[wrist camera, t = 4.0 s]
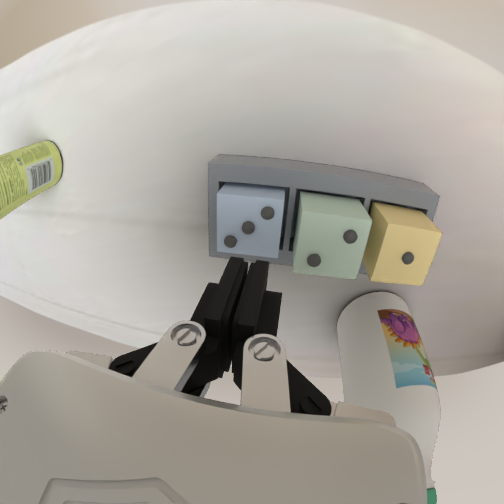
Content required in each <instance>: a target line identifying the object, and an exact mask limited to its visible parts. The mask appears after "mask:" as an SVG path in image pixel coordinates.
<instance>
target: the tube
mask: <svg viewBox="0 0 504 504" xmlns="http://www.w3.org/2000/svg"><path fill="white" fill-rule="evenodd" d="M61 172H62V160H61V156H60V153H59V151H58V149H57V147H56V145H55V144H53V143H52V142H50V141H43V142H39V143H36V144H33V145H29V146H26V147H23V148H20V149H17V150H14V151H11V152H9V153H6V154H3V155H0V219H2V218H3V217H4V216H6V215H7V214H9V213H10V212H11V211H13V210H14V209H16V208H17V207H19V206H20V205H22V204H23V203H25V202H26V201H28V200H30V199H31V198H33V197H34V196H36V195H38V194H40V193H41V192H43V191H45V190H46V189H48V188H50V187H52V186H53V185H55V184H56V183H57V182H58V181H59V179H60V176H61Z"/></svg>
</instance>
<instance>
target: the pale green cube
mask: <svg viewBox="0 0 504 504" xmlns="http://www.w3.org/2000/svg"><path fill="white" fill-rule="evenodd" d="M371 225H372V219H371V218H370V216H369V214H368V213H367V211H366V210H365V208H364V207H363V205H362V203H361V202H360V200H359V199H353V198H346V197H339V196H332V195H325V194H318V193H310V192H302V191H300V198H299V206H298V213H297V221H296V228H295V235H294V242H293V273H298V274H307V275H316V276H326V277H335V278H345V279H355V280H356V278H357V275H358V271H359V268H360V265H361V261H362V258H363V254H364V251H365V247H366V244H367V240H368V236H369V232H370V229H371Z"/></svg>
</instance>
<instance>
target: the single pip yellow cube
mask: <svg viewBox="0 0 504 504" xmlns="http://www.w3.org/2000/svg"><path fill="white" fill-rule="evenodd" d="M369 216H370V218H371V219H372V225H371V229H370V232H369V236H368V240H367V244H366V247H365V251H364V254H363V258H362V260H363V262H364V265H365V268H366V270H367V273H368V276H369V278H370V281H375V282H385V283H396V284H407V285H418V286H422V284H423V282H424V280H425V278H426V275H427V273H428V270H429V268H430V266H431V263H432V260H433V258H434V255H435V253H436V250H437V247H438V245H439V242H440V239H441V236H442V232H441V231H440V230H439V229H438V227H437V226H436V225H435V224H434V223H433V222H432V221H431V220H430V219H429V218H428V217H427V216H426V215H425V214H424V213H423V212H422V211H419V210H415V209H410V208H404V207H399V206H394V205H388V204H383V203H377V202H372V206H371V211H370V215H369Z"/></svg>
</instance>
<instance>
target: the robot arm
mask: <svg viewBox="0 0 504 504" xmlns="http://www.w3.org/2000/svg"><path fill="white" fill-rule="evenodd" d="M268 268H269V261H263V260H256V263H253V262H251V265H250V268H249V271H248V262H245V261H244V258H240V257H233V256H231V257H230V259H229V262H228V264H227V266H226V268H225V271H224V273H223V275H222V277H221V280H220V282H219V284H217V283H208V285H207V287H206V289H205V291H204V293H203V295H202V297H201V299H200V301H199V303H198V305H197V307H196V309H195V311H194V314H193V316H192V318H191V320H190V321H181V322H177V323H175V324H174V325H172V326H171V327H170V328H169V329H168V330H167V332H166V333H165V334H164V336H163V337H162V338H161V340H160V341H159V342H157V343H155V344H152V345H149V346H146V347H144V348H141V349H138V350H136V351H133V352H130V353H127V354H124V355H121V356H119V357H117V358H115V359H112V357H111V356H105V355H98V354H91V353H85V352H78V351H69V352H66V353H63V352H58V351H52V350H35V351H30V352H28V353H26V354H25V355H23V356H22V357H21V358H20V359H19V360H18V361H17V362H16V363H15V364H14V365H13V366H12V368H11V369H10V370H9V371H8V373H7V374H6V375H5V377H4V378H3V379H2V381H1V382H0V504H427V486H426V475H425V468H424V462H423V457H422V454H421V450H420V448H419V445H418V443H417V442H416V440H415V439H414V438H413V437H412V435H410V434H409V433H407V432H406V431H404V430H402V429H400V428H398V427H396V422H395V420H394V418H393V417H392V416H391V415H390V414H389V413H387V412H384V411H380V410H375V409H370V408H365V407H361V406H356V405H352V404H348V403H344V402H340V401H339V402H338V403H334V402H330V401H329V400H328V399H327V397H326V396H325V395H324V394H323V393H322V392H320V391H319V390H318V389H317V388H316V387H315V386H314V385H313V384H312V383H311V382H310V381H308V379H306V378H305V377H304V376H303V375H302V374H301V373H300V372H299V371H298V370H297V369H296V368H295V367H294V366H293V365H292V364H291V363H290V362H289V361H288V360H287V359H286V351H285V346H284V344H283V343H282V341H281V340H280V339H278V338H277V337H276V336H277V329H278V321H279V313H280V306H281V298H282V293H279V292H271V291H266V287H267V277H268ZM247 272H248V274H247ZM231 361H232V373H234V382H235V384H236V385H237V386H238V387H239V389H240V390H241V405H235V404H230V403H225V402H220V401H215V400H211V399H206V398H204V396H205V394H206V393H207V391H208V389H209V386H210V382H211V381H213V380H215V379H217V378H218V377H219V378H222V376H223V373H224V371H226V372H228V371H229V368H230V365H231Z"/></svg>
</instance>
